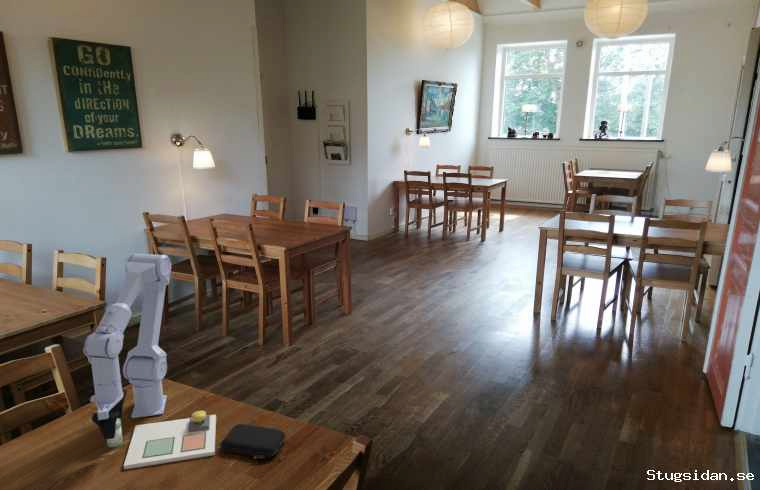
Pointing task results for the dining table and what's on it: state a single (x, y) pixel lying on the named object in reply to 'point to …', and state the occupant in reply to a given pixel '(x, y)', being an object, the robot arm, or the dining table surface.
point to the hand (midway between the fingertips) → (113, 428)
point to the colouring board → (171, 442)
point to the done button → (198, 416)
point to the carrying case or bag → (253, 441)
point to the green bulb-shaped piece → (116, 436)
